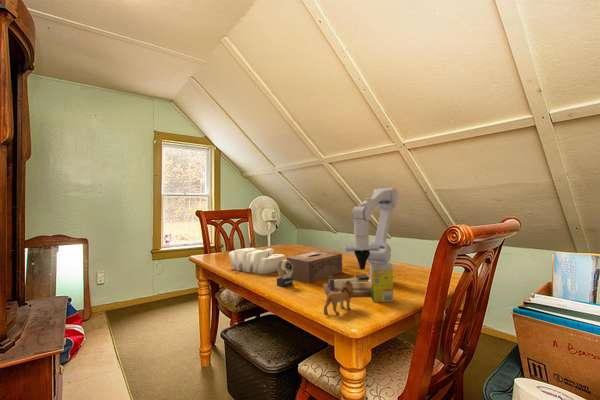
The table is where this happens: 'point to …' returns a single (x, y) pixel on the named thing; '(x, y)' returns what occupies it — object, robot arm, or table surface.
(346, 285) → the lion figurine
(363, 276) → the lever
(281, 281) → the watch
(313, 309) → the table surface
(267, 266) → the wavy white extrusion
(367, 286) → the base
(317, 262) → the tissue box cover
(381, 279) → the crayon box
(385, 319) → the table surface
